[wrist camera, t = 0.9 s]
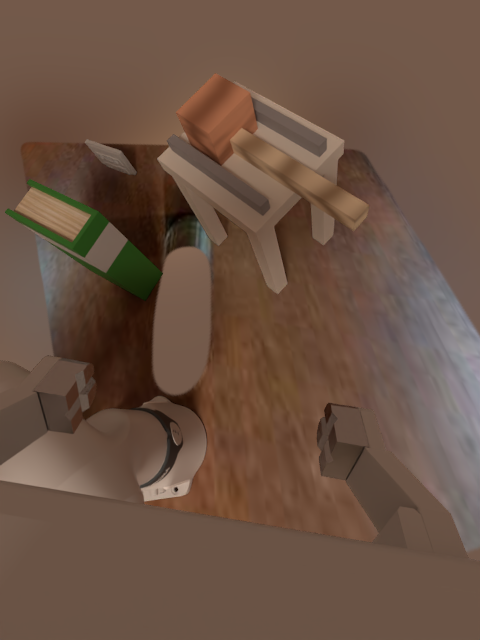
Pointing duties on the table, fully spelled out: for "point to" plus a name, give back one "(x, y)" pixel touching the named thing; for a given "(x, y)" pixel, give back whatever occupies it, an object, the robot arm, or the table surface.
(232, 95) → the mallet
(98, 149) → the cassette
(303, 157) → the stand
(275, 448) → the table surface
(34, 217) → the hardback book
